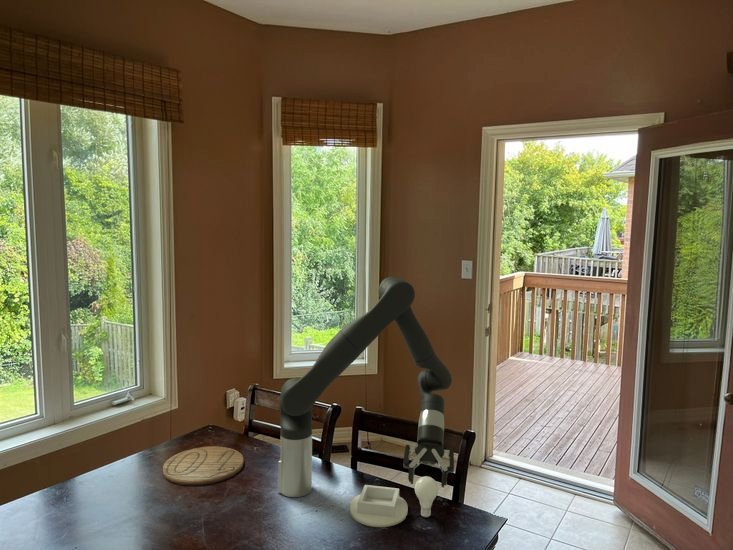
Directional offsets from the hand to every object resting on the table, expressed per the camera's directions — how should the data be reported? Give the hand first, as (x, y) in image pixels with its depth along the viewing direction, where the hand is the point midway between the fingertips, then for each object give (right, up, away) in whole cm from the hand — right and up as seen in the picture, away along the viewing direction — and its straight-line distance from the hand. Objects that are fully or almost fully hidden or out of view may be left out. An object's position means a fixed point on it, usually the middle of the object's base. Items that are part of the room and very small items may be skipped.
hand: (427, 484), depth 144 cm
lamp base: (-13, -8, +1) cm, 15 cm away
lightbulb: (-1, -8, -1) cm, 8 cm away
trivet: (-70, -5, +26) cm, 75 cm away
